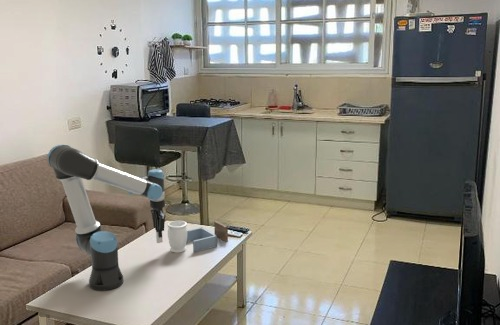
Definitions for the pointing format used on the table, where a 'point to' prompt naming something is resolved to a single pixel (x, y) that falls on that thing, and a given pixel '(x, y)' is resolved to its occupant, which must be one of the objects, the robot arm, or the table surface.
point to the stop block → (221, 231)
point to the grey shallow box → (204, 243)
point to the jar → (177, 236)
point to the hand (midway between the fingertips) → (159, 242)
